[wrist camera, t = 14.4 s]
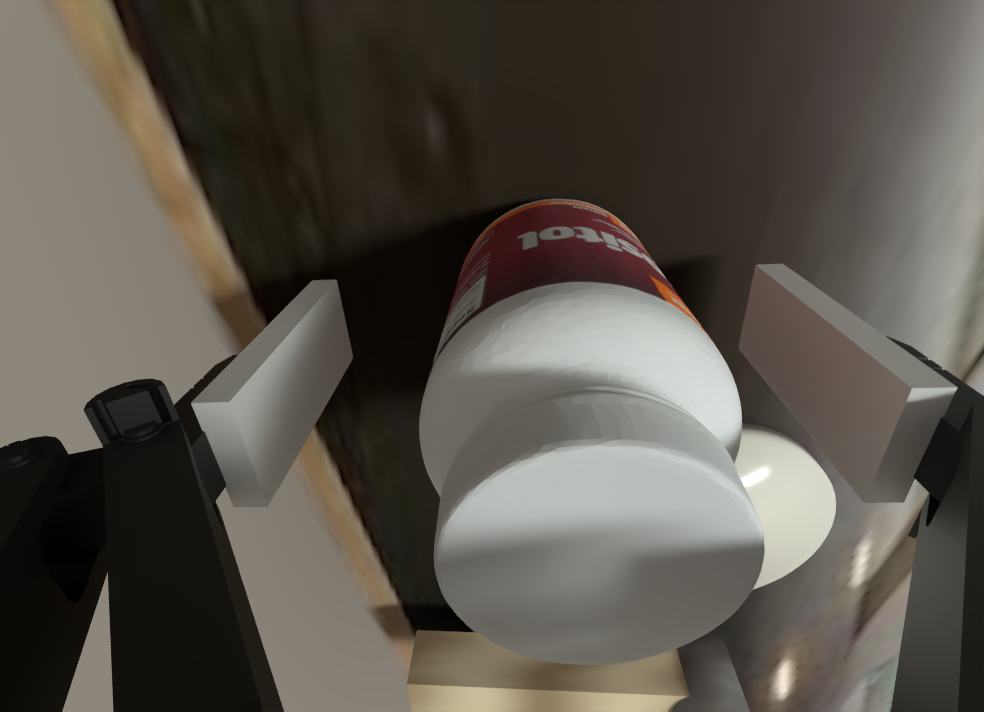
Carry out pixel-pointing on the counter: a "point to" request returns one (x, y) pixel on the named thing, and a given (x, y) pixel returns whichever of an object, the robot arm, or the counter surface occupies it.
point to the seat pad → (784, 498)
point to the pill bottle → (583, 448)
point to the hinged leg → (568, 679)
